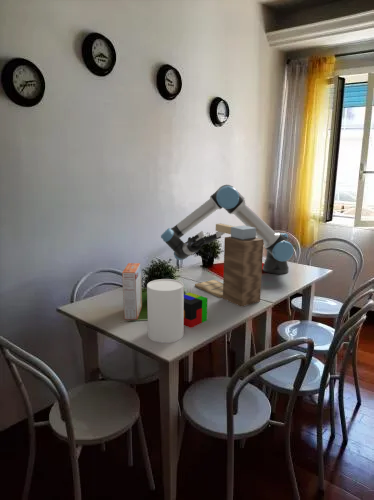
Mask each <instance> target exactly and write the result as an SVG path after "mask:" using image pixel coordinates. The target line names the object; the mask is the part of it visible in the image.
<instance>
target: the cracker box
mask: <svg viewBox="0 0 374 500" xmlns="http://www.w3.org/2000/svg"><path fill="white" fill-rule="evenodd" d="M141 268H142V267H141V262H140V263H139V262H138V263H137V262H135V263H134V262H128V263H127V265H126V266H125V268H124V269H123V271H122V272H121V276H122V279H121V280H122V295H123V297H122V299H123V315H124V316H123V319H124V320H126V321H127V320H128V321H129V320H130V321H131V320H132V321H133V320H134V321H135V320H138V318H139V317H140V314H141V311H142V308H143V293H142V269H141Z"/></svg>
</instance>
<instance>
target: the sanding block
mask: <svg viewBox="0 0 374 500" xmlns="http://www.w3.org/2000/svg"><path fill="white" fill-rule="evenodd" d="M218 231H219V232H223V233H225V234H226V235H227V234H228V235H230V237H231V238H234V239H238V240H242V241H244V240H250V239H256V238H257V236H256V228H254V227H249V226H246V225H245V224H244V225H237V226H235V225H230V224H225V223H221V222H220V223H215V232H218Z"/></svg>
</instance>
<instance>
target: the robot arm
mask: <svg viewBox="0 0 374 500" xmlns="http://www.w3.org/2000/svg"><path fill="white" fill-rule="evenodd" d="M221 209H224V210H225V212H226V211H227V213H228V214H229V215H235V217H236V218H237V219H238V220H239V221H240V222H241V223H242V224H244V225H245V226H249V227H254V228H256V238H260V239H264V240H263V248H265V250H266V257H265V259H264V263H263V264H262V272H265V273H269V274H273V275H283V274H284V275H285V274H287V273H289V267H290V266H289V264H288V261H289V260H290V259H292V256H293V255H294V251H295V250H294V249H295V248H294V246H293V244H292V243H291V242H290V241H289V235H288V233H286V232H285V233H283V232H275V231H274V229H273V228H271V227H270V226H269V225H268V223H267V222H265V220H264V219H262V218H261V217H260V216H259V215H258V214H257V212H255V211H254V210H253V209H252V208H251V207H250V206H249V205H248V204H247V203H246V198H245V197H244V196H243V195H242V194H241V193H240V192H239V191H238V190H237V189H236V188H235V187H234V186H232V185H230V184H224V185H221V186H219V188H217V190H216V191H215V192H214V193H213V194H211V195H210V197H209V199H208V200H207V201H205V202H203V203H202V204H201V205H200V206H199V207H198V208H196V209H195V210H194V211H192V212H191V213H189V214H188V215H187V216H186V217H185V218H183V219H182V220H181V221H179V222H178V223H177V224H175V225H174V226H173V227H171V228H170V227H168V228H167V229H165V231H163V233H162V234H161V235H160V238H161V239H162V240H163V242H164V243H166V245H167V246H168V247H170V249H171V250H172V252H173V255H174V258H175V259H176V260H178V261H183V260H186V259H187V258H189V257H190V256H193V254H195V253H196V252H198V251H200V250H201V248H202V246H204V245H208V244H210V243H212V242H214V241H216V240H217V241H218V240H219V239H221V238H222V236H223V235H225V234H226V233H223V232H219V231H215V233H214V234H211V235H208V236H205V235H204V232H203V230H201V231H200V232H198V233H196V234H195V235H192V237H191V236H190V237H187V238H188V239H187V241H185V242H184V241H183V240H182V239H181V237H183V236H184V235H185V234H187V233H188V232H190V231H192V229H194V228H195V227H196V226H198V225H199V224H200V223H202V222H203V221H205V219H207V218H208V217H209V216H211V215H212V214H213V213H215V212H216V211H218V210H221Z"/></svg>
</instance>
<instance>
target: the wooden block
mask: <svg viewBox="0 0 374 500" xmlns="http://www.w3.org/2000/svg"><path fill="white" fill-rule="evenodd" d="M263 240H264V239H260V238H258V237H256V239H250V240H244V241H242V240H238V239H234V238H231V236H227V237H224V245H223V247H224V249H223V250H224V251H223V281H222V283H223V298H222V299H223V300H226V301H227V300H228V302H229V303H233V304H234V305H237V306H238V307H241V308H242V307H245V306H250V305H253V304H256V303H259V302H260V303H261V293H262V291H261V290H262V274H263V255H264V253H263V252H264V243H263Z"/></svg>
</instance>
